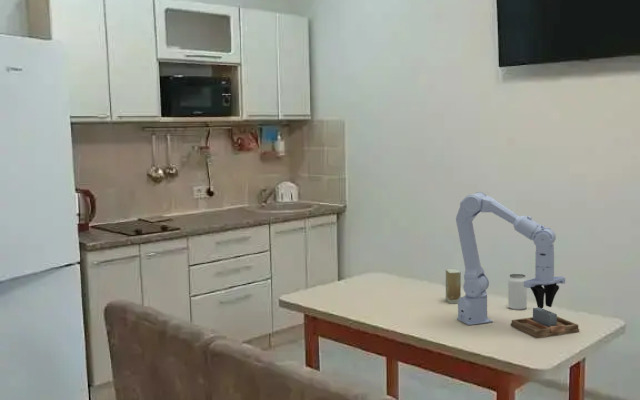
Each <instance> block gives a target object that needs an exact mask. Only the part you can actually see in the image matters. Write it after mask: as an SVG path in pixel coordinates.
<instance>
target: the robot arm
mask: <svg viewBox="0 0 640 400" xmlns="http://www.w3.org/2000/svg"><path fill="white" fill-rule="evenodd" d="M479 213H492V214H494V215H495V216H498V217H499V218H501V219H503V220H505V221H507V222H508V223H510V224H512V225H513V228H514V231H516V232H518V233H519V234H521V235H522V236H524V237H525V238H527V239H528V240H530V241H533V244H534V246H535V265H534V267H535V273H534V274H535V275H534V276H535V277H534V278H530V279H528V280H527V279H526V280H527V281H524V287H526V288H527V289H530V290H531V291H532V293H533V295H534V298H535V302H536V306H537V308H538V307H539V308H542V309H544V305H545V307H549V308H552V306H553V302H554V299H555V297H556V294H557V293H558V291H559V290H560V285H559V284H566V277H564V276H555V246H554V243H555V241H556V237H557V236H556V233H555V232H554V230H552V229H551V228H550V227H545V225H544V224H540V223H537V221H535V220H533V217H532V216H530V215H528V216H527V215H518V214H516V213H515V212H513V211H512V210H511V209H509V208H508V207H506V206H505V205H503V204H502V203H500V202H499V201H497V200H496V199H494V198H493V197H492V196H490V195H487V194H486V193H484V192H481V191H478V192H475V193H473V194H468V195H466V196H465V197H463V199H462V200H461V201H460V203H459V209H458V211H457V214H456V217H455V222H456V227H457V233H458V237H459V243H460V247H461V252H462V258H463V263H464V268H465V270H464V273H463V278H464V279H463V280H464V281H463V282H464V283H463V287H462V288H463V291H464V294H465V295H464V296H461V298H459V300H458V303H457V317H456V320H458V321H460V322H462V323H464V324H465V325H468V326H471V325H479V324H486V323H493V320H492V319H490V318H488V292H487V291H486V290H487V289H489V285H490V281H489V278H488V277H487V275H486V274H485V270H484V268H483V267H482V266H481V262H480V261H481V260H480V256H479V251H478V245H477V240H476V235H475V230H474V224H473V221H474V219H475V218H476V217H477V216H478V214H479ZM544 303H545V304H544Z"/></svg>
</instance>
